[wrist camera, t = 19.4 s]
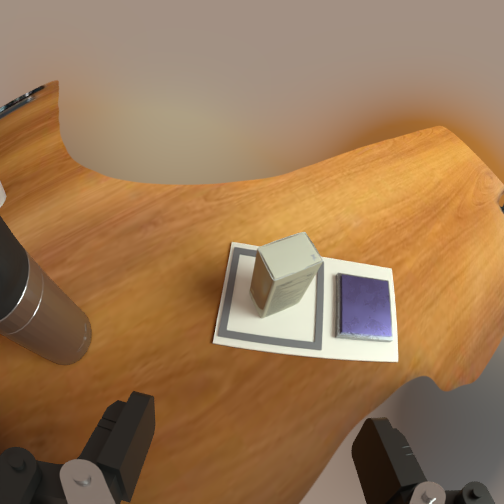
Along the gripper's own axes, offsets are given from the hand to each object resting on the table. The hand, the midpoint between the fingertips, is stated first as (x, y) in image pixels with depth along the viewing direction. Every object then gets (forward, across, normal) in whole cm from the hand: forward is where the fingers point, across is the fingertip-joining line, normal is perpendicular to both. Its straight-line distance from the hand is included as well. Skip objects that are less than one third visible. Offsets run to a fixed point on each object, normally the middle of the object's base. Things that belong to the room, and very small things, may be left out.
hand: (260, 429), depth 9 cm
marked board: (+32, -10, +7) cm, 34 cm away
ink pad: (+32, -17, +7) cm, 37 cm away
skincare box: (+32, -4, +7) cm, 33 cm away
